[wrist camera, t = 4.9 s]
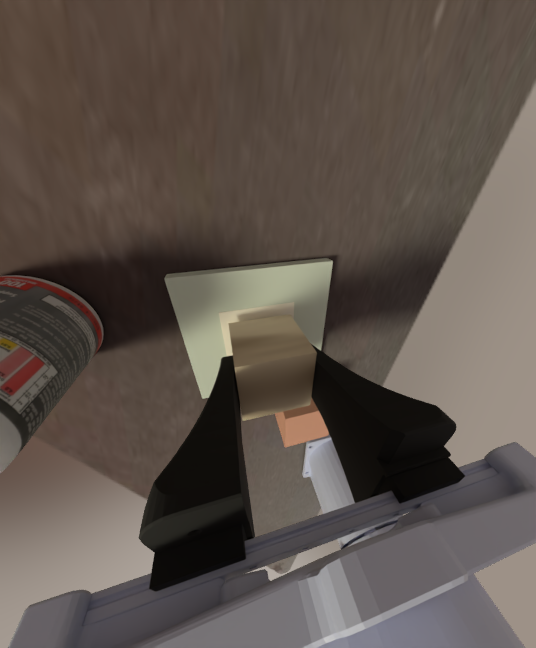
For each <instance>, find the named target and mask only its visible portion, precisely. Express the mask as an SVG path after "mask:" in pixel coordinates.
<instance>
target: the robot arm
mask: <svg viewBox="0 0 536 648" xmlns="http://www.w3.org/2000/svg"><path fill="white" fill-rule="evenodd" d="M311 345H312V344H311ZM312 346H313V348H314V349H315V351H316V352H317V355H316V363H315V371H314V379H313V387H312V395H311V397H312V399H313V401H314V403H315V405H316V407H317V408H318V410H319V412H320V414H321V416H322V418H323V420H324V422H325V425H326V427H327V430H328V432H329V434H330V435H328V436H325V437H321V438H318V439H314V440H310V441H307V443H306V450H305V458H304V466H303V477H304V478H306V477H309V476H310V477H311V480H312V483H313V486H314V488H315V491H316V494H317V497H318V500H319V503H320V505H321V508H322V511H323V514H322V515H319V516H316V517H313V518H310V519H307V520H305V521H302V522H299V523H296V524H293V525H290V526H287V527H284V528H281V529H278V530H276V531H273V532H270V533H267V534H264V535H261V536H258V537H255V534H254V527H253V519H252V512H251V505H250V497H249V490H248V483H247V475H246V468H245V460H244V453H243V445H242V435H241V415H240V399H239V393H238V387H237V380H236V374H235V367H234V360H233V355H232V356H226V357H222V358H221V363H220V368H219V371H218V375H217V378H216V381H215V384H214V386H213V389H212V391H211V394H210V396H209V398H208V401H207V403H206V405H205V407H204V409H203V411H202V413H201V415H200V417H199V418H198V420H197V422H196V424H195V425H194V427H193V429H192V430H191V432H190V434H189V435H188V437H187V438H186V440H185V441H184V443H183V444H182V445H181V447H180V448H179V450H178V451H177V453H176V454H175V456H174V457H173V458H172V460H171V461H170V462H169V464H168V465H167V466H166V467H165V469H164V470H163V471H162V473H161V474H160V475H159V476H158V478H157V479H156V480H155V482H154V483H153V486H152V489H151V491H150V494H149V497H148V500H147V504H146V507H145V510H144V515H143V519H142V524H141V529H140V535H139V539H140V540H141V542H142V543H143V544H144V545H145V546H147V547H148V548H149V549H151V550H152V551H153V552H155V554H154V561H153V567H152V573H151V574H148V575H145V576H142V577H139V578H136V579H133V580H130V581H128V582H125V583H122V584H119V585H116V586H113V587H110V588H107V589H104V590H101V591H99V592H95V593H93V594H91V593H90V592H89V591H86V590H77V591H71V592H68V593H65V594H62V595H59V596H56V597H53V598H50V599H47V600H44V601H41V602H38V603H35V604H32V605H30V606H29V607H28V608H27V609H26V610H25V611H24V613H23V616H22V618H21V620H20V622H19V624H18V627H17V629H16V631H15V633H14V635H13V637H12V640H11V642H10V644H9V646H8V648H525V647H524V645H523V644H522V642H521V641H520V640H519V638H518V637H517V635H516V634H515V633H514V631H513V629H512V628H511V627H510V625H509V624H508V622H507V621H506V619H505V618H504V617H503V615H502V614H501V612H500V611H499V609H498V608H497V607H496V605H495V604H494V602H493V601H492V599H491V598H490V597H489V595H488V594H487V592H486V591H485V589H484V588H483V587H482V585H481V584H480V583H479V581H478V580H477V578H476V577H475V575H474V573H476V572H478V571H480V570H482V569H484V568H486V567H488V566H490V565H492V564H494V563H496V562H498V561H500V560H502V559H504V558H506V557H508V556H510V555H512V554H514V553H516V552H518V551H520V550H522V549H524V548H526V547H528V546H530V545H533V544H534V543H536V457H534V456H533V455H532V454H531V453H529V452H528V451H527V450H525V449H524V448H523V447H522V446H520V445H519V444H518V443H516V442H513V443H510V444H507V445H504V446H501V447H498V448H496V449H494V450H492V451H491V452H489V453H488V454H487V455H486V456H485V458H484V459H482V460H479V461H476V462H473V463H470V464H467V465H464V466H462V467H459V468H458V467H457V466H456V465H455V464H454V463H453V462H452V461H451V460H450V459H449V458H448V457H450V455H451V454H450V452H449V451H448V450H447V449H446V448H445V447H444V445H445V444H446V443H447V442H448V440H449V439H450V438H451V437H452V435H453V434H454V432H455V431H456V424H455V422H454V421H453V420H451V419H450V418H449V417H448V416H447V415H446V414H445V413H444V412H443V411H442V410H440V408H438V407H437V406H435V405H432V404H429V403H425V402H422V401H419V400H416V399H413V398H410V397H407V396H404V395H402V394H399V393H396V392H394V391H391V390H389V389H386V388H384V387H382V386H380V385H377V384H375V383H373V382H371V381H369V380H367V379H365V378H363V377H361V376H359V375H357V374H356V373H354V372H352V371H350V370H349V369H347V368H345V367H344V366H342V365H341V364H339V363H338V362H336V361H335V360H333V359H332V358H330V357H329V356H327V355H326V354H325V353H323V352H322V351H320V350H319V349H318V348H316V347H315V346H314V345H312ZM408 512H409V513H408ZM406 513H408V514H406ZM403 514H406V515H404V516H403ZM254 537H255V538H254ZM335 539H337V540H338V542H339V545H340V548H341V550H339V551H336V552H334V553H332V554H329V555H327V556H325V557H323V558H320V559H318V560H316V561H314V562H311V563H309V564H307V565H305V566H303V567H300V568H298V569H296V570H294V571H292V572H290V573H287V574H285V575H283V576H281V577H279V578H277V579H274V580H272V581H270V580H269V579H268V574H267V571H266V570H265V569H264V570H259V571H255V572H250V571H252V570H255V569H258V568H261V567H263V566H266V565H269V564H271V563H274V562H277V561H279V560H282V559H285V558H288V557H290V556H293V555H296V554H298V553H301V552H303V551H306V550H309V549H312V548H314V547H317V546H319V545H322V544H325V543H328V542H330V541H333V540H335ZM247 572H250V573H247ZM245 573H246V574H245Z"/></svg>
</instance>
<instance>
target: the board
mask: <svg viewBox="0 0 536 648" xmlns="http://www.w3.org/2000/svg"><path fill="white" fill-rule="evenodd" d="M332 265H333V261H332V260H330V259H328V258H321V259H311V260H301V261H291V262H281V263H272V264H262V265H252V266H242V267H232V268H222V269H212V270H202V271H192V272H183V273H173V274H167V275H166V276H165V278H164V280H165V283H166V286H167V289H168V292H169V295H170V299H171V302H172V305H173V308H174V311H175V314H176V317H177V321H178V324H179V327H180V330H181V333H182V336H183V339H184V343H185V346H186V349H187V352H188V355H189V358H190V361H191V364H192V368H193V371H194V374H195V377H196V380H197V383H198V386H199V390H200V393H201V396H202V399H204V398H208V397H209V396H210V394H211V391H212V389H213V386H214V384H215V381H216V378H217V375H218V371H219V368H220V363H221V358H222V357H226V356H232V355H233V353H232V346H231V338H230V331H229V324H228V323H234V322H241V321H248V320H255V319H262V318H269V317H276V316H283V315H291V316H292V318H293V319H294V321H295V322H296V323H297V325H298V326H299V328H300V329H301V331H302V332H303V333H304V335H305V336H306V338H307V339H308V341H309V342H310V343H311V344H312V345H314V346H315V347H316V348H318V349H319V350H320V351H321V347H322V340H323V332H324V325H325V317H326V310H327V302H328V295H329V287H330V280H331V272H332Z"/></svg>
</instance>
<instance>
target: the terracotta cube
mask: <svg viewBox="0 0 536 648" xmlns="http://www.w3.org/2000/svg"><path fill="white" fill-rule="evenodd" d="M275 416H276V419H277V422H278V426H279V429H280V432H281V436H282V439H283V442H284V446H285V447H289V446H292V445H296V444H299V443H303V442H307V441H310V440H314V439H318V438H321V437H325V436H328V435H329V432H328V430H327V427H326V425H325V422H324V420H323V418H322V416H321V414H320V412H319V410H318V408H317V407H316V405H315V403H314V401H313V399H312V397H311V403H310V405H309V406H304V407H300V408H296V409H292V410H287V411H283V412H279V413H275Z"/></svg>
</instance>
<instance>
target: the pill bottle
mask: <svg viewBox="0 0 536 648" xmlns="http://www.w3.org/2000/svg"><path fill="white" fill-rule="evenodd" d="M103 335H104V333H103V326H102V323H101V320H100V318H99V316H98V315H97V313H96V312H95V310H94V309H93V308H92V307H91V306H90V305H89V304H88V303H87V302H86V301H85V300H84V299H83V298H81V297H80V296H79V295H77V294H76V293H74V292H72V291H71V290H69V289H67V288H65V287H63V286H61V285H58V284H56V283H53V282H50V281H47V280H44V279H40V278H35V277H29V276H18V275H11V276H0V473H1V472H2V471H3V470H4V469H5V468H6V467H7V466H8V465H9V464H10V463H11V462H12V461H13V459H14V458H15V457H16V456H17V454H18V453H19V452H20V451H21V450H22V449H23V447H24V446H25V445H26V443H27V442H28V441H29V440H30V438H31V437H32V436H33V434H34V433H35V432H36V430H37V429H38V428H39V426H40V425H41V424H42V422H43V421H44V420H45V419H46V417H47V416H48V415H49V413H50V412H51V411H52V409H53V408H54V407H55V406H56V404H57V403H58V402H59V400H60V399H61V398H62V396H63V395H64V394H65V393H66V391H67V390H68V389H69V387H70V386H71V385H72V384H73V382H74V381H75V380H76V378H77V377H78V376H79V375H80V373H81V372H82V371H83V369H84V368H85V367H86V365H87V364H88V363H89V362H90V360H91V359H92V358H93V357H94V355H95V354H96V353H97V351H98V349H99V348H100V346H101V344H102V341H103Z"/></svg>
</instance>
